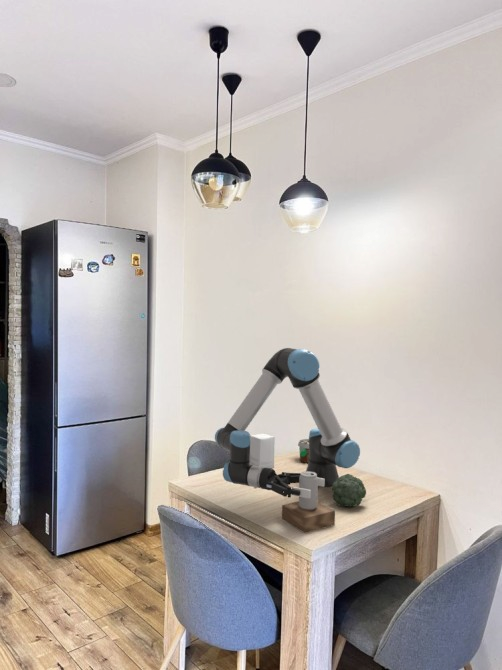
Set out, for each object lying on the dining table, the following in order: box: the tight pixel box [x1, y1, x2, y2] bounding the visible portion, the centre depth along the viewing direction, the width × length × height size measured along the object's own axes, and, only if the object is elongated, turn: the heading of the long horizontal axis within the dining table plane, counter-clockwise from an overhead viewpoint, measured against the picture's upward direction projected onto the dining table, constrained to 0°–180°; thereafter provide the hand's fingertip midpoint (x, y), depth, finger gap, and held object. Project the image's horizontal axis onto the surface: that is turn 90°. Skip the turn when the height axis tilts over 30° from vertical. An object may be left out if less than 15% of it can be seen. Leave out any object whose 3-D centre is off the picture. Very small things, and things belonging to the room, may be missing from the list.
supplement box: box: [250, 433, 276, 469], centre depth 230 cm, size 9×9×15 cm
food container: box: [297, 438, 309, 465], centre depth 241 cm, size 12×6×10 cm, turn 178°
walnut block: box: [281, 500, 336, 534], centre depth 167 cm, size 13×13×5 cm
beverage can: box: [298, 470, 319, 510], centre depth 166 cm, size 6×6×12 cm
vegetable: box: [331, 473, 367, 508], centre depth 184 cm, size 12×13×15 cm
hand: (317, 488), depth 165 cm, fingers open, 13 cm apart
